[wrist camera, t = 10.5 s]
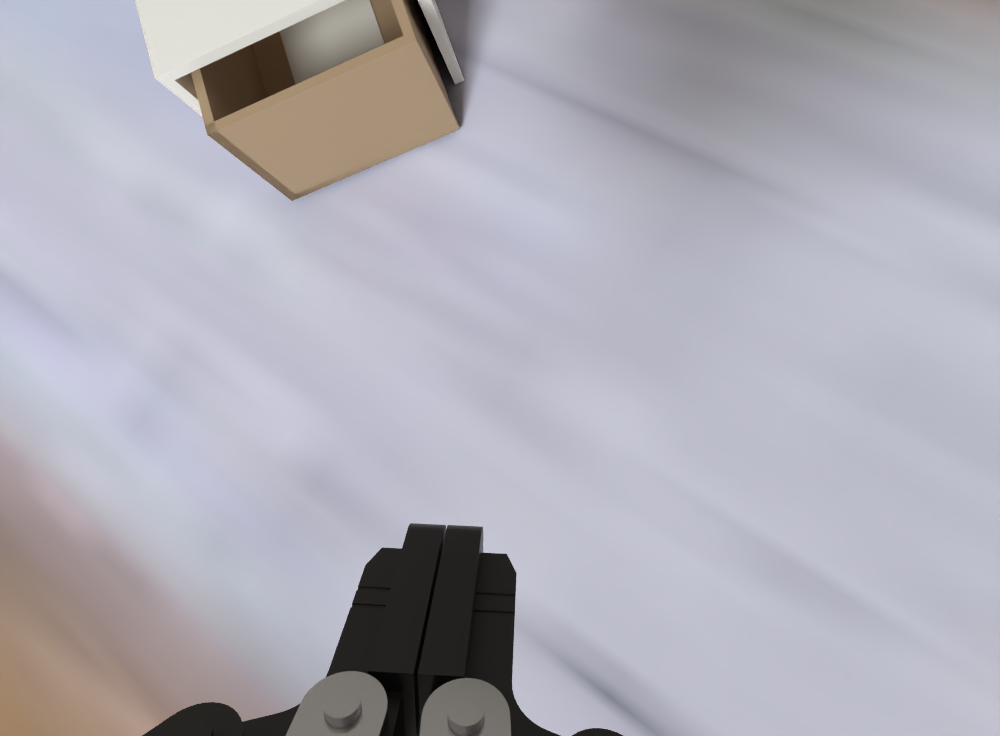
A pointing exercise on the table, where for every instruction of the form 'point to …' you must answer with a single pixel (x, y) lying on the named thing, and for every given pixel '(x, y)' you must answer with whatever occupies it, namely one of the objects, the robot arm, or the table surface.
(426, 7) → the sleeve
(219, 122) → the wooden drawer
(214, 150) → the table surface
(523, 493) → the table surface
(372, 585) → the robot arm
